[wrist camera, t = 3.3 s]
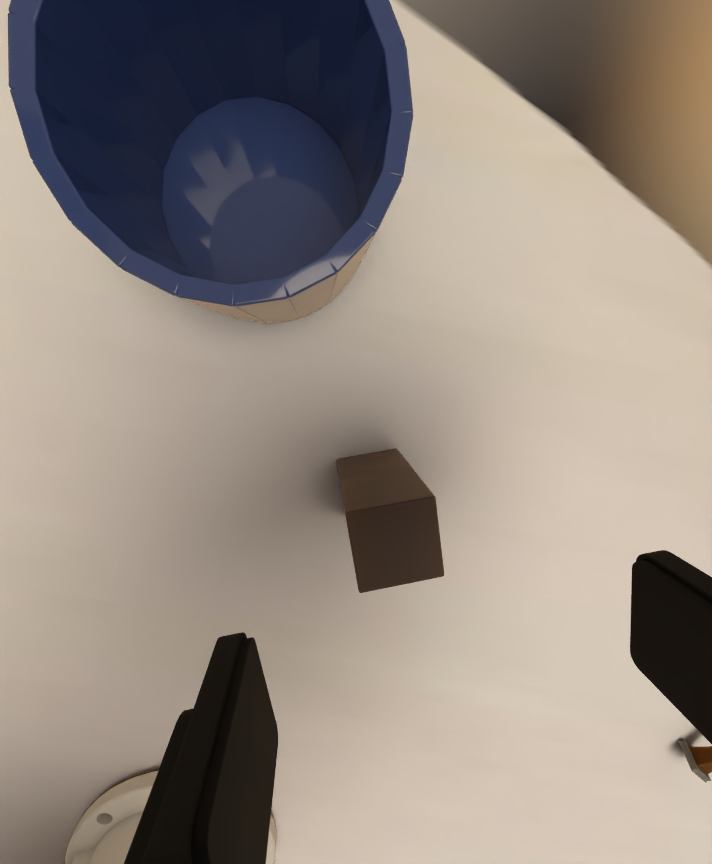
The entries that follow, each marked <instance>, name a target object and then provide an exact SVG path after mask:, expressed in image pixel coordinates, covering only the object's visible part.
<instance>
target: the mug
mask: <svg viewBox="0 0 712 864" xmlns="http://www.w3.org/2000/svg"><path fill="white" fill-rule="evenodd" d="M9 12H10V13H8V61H9V87H10V88H11V89H10V92H11V95H12V99H13V102H14V105H15V108H16V112H17V115H18V118H19V121H20V125H21V128H22V131H23V135H24V138H25V141H26V144H27V148H28V151H29V154H30V157H31V159H32V160H33V164H34V165H35V167H36V169H37V170H38V172H39V173H40V175H41V176H42V178H43V180H44V181H45V183H46V184H47V186H48V188H49V189H50V191H51V192H52V194H53V196H54V197H55V199H56V200H57V202H58V204H59V205H60V207H61V208H62V210H63V211H64V213H65V215H66V216H67V218H68V219H69V220H70V221H71V222H72V224H73V225H74V226H75V227H76V228H77V229H78V230H79V231H80V232H81V233H82V234H83V235H85V236H86V237H87V238H88V239H89V240H90V241H91V242H92V243H93V244H94V245H95V246H96V247H98V248H99V249H100V250H101V251H102V252H103V253H104V254H105V255H106V256H107V257H108V258H109V259H111V260H112V261H113V262H114V263H115V264H116V265H117V266H118V267H121V268H122V269H123V270H124V271H126V272H128V273H130V274H132V275H134V276H136V277H138V278H140V279H142V280H144V281H146V282H148V283H150V284H152V285H154V286H156V287H158V288H160V289H162V290H164V291H166V292H168V293H170V294H172V295H174V296H176V297H179V298H182V299H184V300H187V301H190V302H193V303H195V304H198V305H201V306H204V307H206V308H209V309H212V310H215V311H217V312H220V313H223V314H226V315H228V316H231V317H234V318H238V319H244V320H249V321H254V322H262V323H276V322H286V321H290V320H295V319H299V318H302V317H304V316H307V315H309V314H311V313H313V312H315V311H317V310H319V309H321V308H322V307H323V306H325V305H327V304H328V303H330V302H331V301H332V300H333V299H334V298H335V297H336V296H337V295H338V294H339V293H340V292H341V291H342V290H343V288H344V287H345V286H346V285H347V284H348V283H349V282H350V281H351V279H352V278H353V276H354V274H355V272H356V270H357V268H358V266H359V265H360V263H361V261H362V259H363V257H364V255H365V253H366V251H367V249H368V248H369V246H370V244H371V242H372V240H373V238H374V236H375V234H376V232H377V230H378V228H379V226H380V224H381V222H382V220H383V218H384V216H385V214H386V212H387V210H388V208H389V206H390V204H391V202H392V200H393V197H394V195H395V193H396V191H397V189H398V187H399V185H400V183H401V180H402V177H403V174H404V168H405V162H406V156H407V150H408V144H409V138H410V132H411V126H412V120H413V106H412V96H411V87H410V77H409V67H408V58H407V48H406V45H405V41H404V38H403V36H402V33H401V30H400V28H399V25H398V23H397V20H396V17H395V15H394V12H393V10H392V7H391V4H390V2H389V0H11V3H10V6H9Z"/></svg>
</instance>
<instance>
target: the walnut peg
mask: <svg viewBox="0 0 712 864" xmlns="http://www.w3.org/2000/svg"><path fill="white" fill-rule="evenodd" d="M336 464H337V470H338V476H339V482H340V487H341V493H342V499H343V504H344V510H345V516H346V522H347V527H348V533H349V539H350V545H351V550H352V556H353V562H354V567H355V573H356V579H357V584H358V590H359V592H360V593H363V592H368V591H373V590H378V589H383V588H388V587H393V586H398V585H403V584H408V583H413V582H418V581H423V580H428V579H432V578H437V577H442V576H444V568H443V559H442V550H441V542H440V533H439V524H438V516H437V507H436V498H435V496H434V495H433V493H432V492H431V491H430V490H429V488H428V487H427V486H426V485H425V483H424V482H423V481H422V480H421V478H420V477H419V476H418V475H417V473H416V472H415V471H414V470H413V468H412V467H411V466H410V465H409V463H408V462H407V461H406V460H405V458H404V457H403V456H402V455H401V453H400V452H399V451H398V450H397V449H392V450H387V451H381V452H376V453H370V454H364V455H359V456H353V457H347V458H342V459H337V460H336Z"/></svg>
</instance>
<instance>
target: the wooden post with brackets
mask: <svg viewBox="0 0 712 864" xmlns="http://www.w3.org/2000/svg"><path fill="white" fill-rule="evenodd" d="M678 741H679V740H678ZM679 743H680V746H681V748H682V750H683V752H684V754H685V757H686V759H687V761H688V763H689V766H690V768H691V770H692V772H694V773H695V774H696V775H697V776H698V777H700V778H701V779H702V780H703V781H704V782H707V781H711V779H710V777H709V775H708V774H709V773H711V772H712V746H710V747H692V746H690V745H689V744H688V743H687V742H686V741H685V740H684V741H679Z"/></svg>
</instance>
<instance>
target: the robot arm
mask: <svg viewBox="0 0 712 864" xmlns="http://www.w3.org/2000/svg"><path fill="white" fill-rule="evenodd" d="M630 653H631V657H632V659H633V661H634V663H635V665H636V666H637V667H638V669H639V670H640V671H641V672H642V673H643V674H644V675H645V676H646V677H647V678H648V679H649V680H650V681H651V682H652V683H653V684H654V685H655V686H656V687H657V688H658V689H659V690H660V691H661V692H662V693H663V694H664V696H665V697H666V698H667V699H668V700H669V701H670V702H671V703H672V704H673V705H674V706H675V707H676V708H677V709H678V710H679V711H680V712H681V713H682V714H683V715H684V716H685V717H686V718H687V719H688V720H689V721H690V722H691V723H692V724H693V725H694V726H695V727H696V728H697V729H698V730H699V732H700V733H701V734H702V735H703V736H704V737H705V738H706V739H707V740H708V741H709V742H710V743H711V744H712V577H710V576H709V575H707V574H705V573H704V572H702V571H700V570H699V569H697V568H695V567H694V566H692V565H691V564H689V563H687V562H686V561H684V560H682V559H681V558H679V557H677V556H676V555H674V554H672V553H670V552H668V551H664V550H661V551H656V552H651V553H646V554H641V555H639V556H638V557H637V560H636V562H635V563H634V564H633V566H632V595H631V637H630ZM277 748H278V730H277V724H276V720H275V716H274V712H273V709H272V705H271V701H270V697H269V693H268V689H267V685H266V681H265V677H264V674H263V670H262V666H261V662H260V658H259V654H258V650H257V646H256V642H255V639H254V638H253V637H252V638H247V637H246V634H245V633H243V632H242V633H237V634H232V635H227V636H222V637H219V638H218V640H217V642H216V645H215V647H214V650H213V653H212V656H211V659H210V662H209V665H208V668H207V671H206V674H205V677H204V680H203V683H202V686H201V689H200V691H199V694H198V697H197V700H196V703H195V706H194V709H189V710H185V711H183V712H182V713H181V715H180V716H179V718H178V720H177V722H176V725H175V728H174V730H173V733H172V736H171V738H170V741H169V744H168V746H167V749H166V752H165V754H164V757H163V760H162V762H161V765H160V768H159V770H158V771H154V772H150V773H146V774H143V775H140V776H137V777H133V778H131V779H129V780H127V781H125V782H123V783H121V784H118V785H116V786H114V787H113V788H111V789H110V790H109V791H107V792H106V793H104V794H103V795H102V796H100V797H99V798H98V799H97V800H96V801H95V802H94V803H93V804H92V805H91V806H90V807H89V808H88V809H87V810H86V812H85V814H84V815H83V817H82V818H81V820H80V822H79V823H78V825H77V827H76V830H75V832H74V834H73V836H72V838H71V840H70V843H69V845H68V847H67V851H66V857H65V864H274V862H275V857H276V839H277V833H276V828H275V823H274V819H273V817H272V815H271V807H272V797H273V788H274V778H275V768H276V758H277Z"/></svg>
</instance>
